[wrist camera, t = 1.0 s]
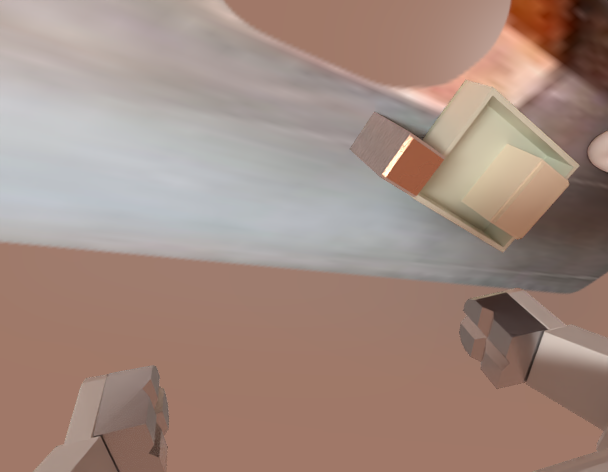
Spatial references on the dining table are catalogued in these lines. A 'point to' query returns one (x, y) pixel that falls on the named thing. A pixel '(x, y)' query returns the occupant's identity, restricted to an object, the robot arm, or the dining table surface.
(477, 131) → the tote
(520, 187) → the beige rectangular block
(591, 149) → the pretzel
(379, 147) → the copper capped metal stub
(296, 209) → the dining table surface
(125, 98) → the dining table surface
